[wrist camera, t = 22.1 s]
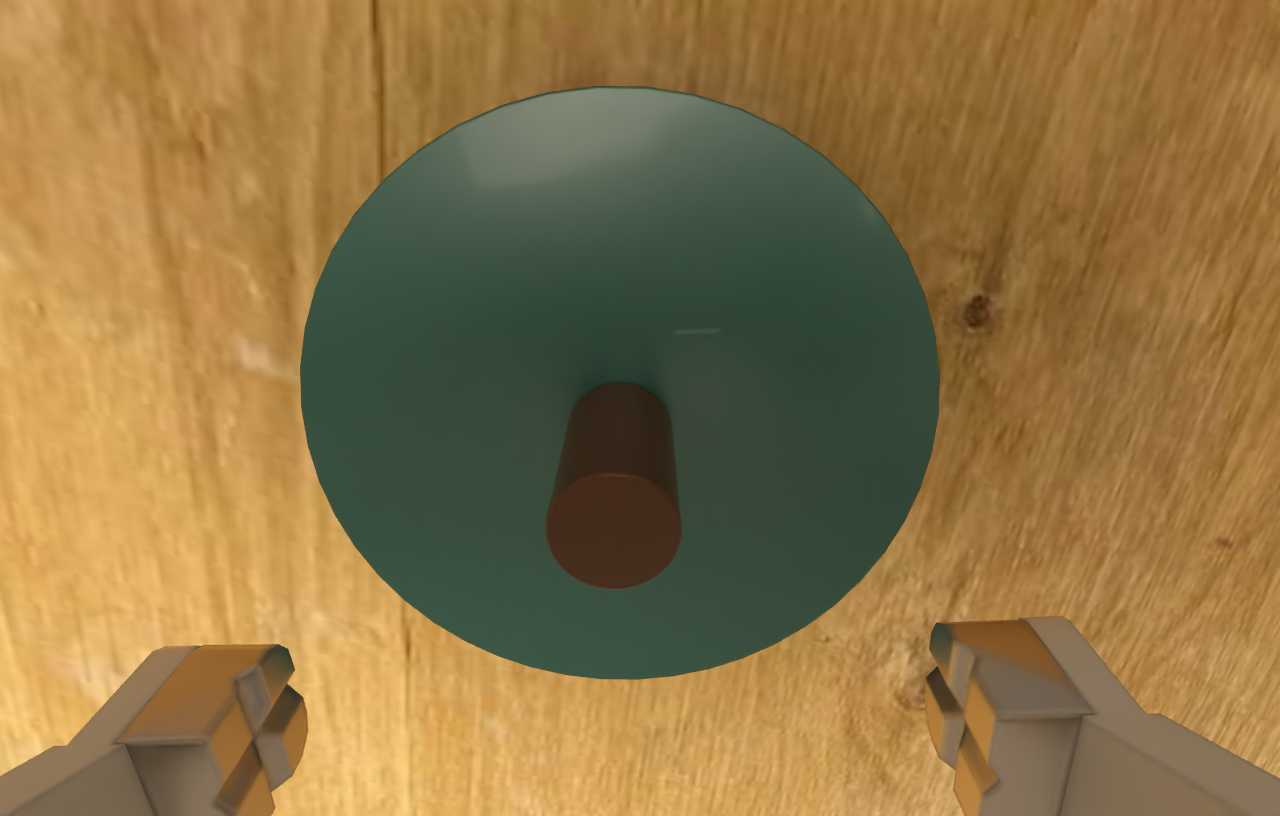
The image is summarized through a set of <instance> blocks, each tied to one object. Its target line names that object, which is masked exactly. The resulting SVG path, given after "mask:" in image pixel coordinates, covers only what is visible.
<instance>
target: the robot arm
mask: <svg viewBox="0 0 1280 816" xmlns="http://www.w3.org/2000/svg"><path fill="white" fill-rule="evenodd" d="M929 649H930V651H931V653H932V655H933V657H934V659H935V661H936V663H937V665H938V666H937V667H936V668H935V669H934V670H933V671H932V672H931V673H930V674H929V675H928V676H927V677H926V684H925V696H924V702H925V711H926V720H927V725H928V729H929V732H930V736H931V739H932V742H933V744H934V747H935V749H936V752H937V754H938V756H939V758H940V759H941V760H943V761H944V762H945V763H946V764H948V765H949V766H950V767H952V768H953V769H954V770H956V772H955V780H954V787H953V791H954V793H955V795H956V797H957V800H958V802H959V804H960V806H961V808H962V811H963V813H964V815H965V816H1280V779H1279V778H1277V777H1276V776H1274V775H1272V774H1270V773H1268V772H1266V771H1264V770H1263V769H1261V768H1259V767H1257V766H1255V765H1253V764H1252V763H1250V762H1248V761H1246V760H1244V759H1242V758H1241V757H1239V756H1237V755H1235V754H1233V753H1231V752H1230V751H1228V750H1226V749H1224V748H1222V747H1220V746H1219V745H1217V744H1215V743H1213V742H1211V741H1209V740H1208V739H1206V738H1204V737H1202V736H1200V735H1198V734H1197V733H1195V732H1193V731H1191V730H1189V729H1187V728H1186V727H1184V726H1182V725H1180V724H1178V723H1176V722H1175V721H1173V720H1171V719H1169V718H1167V717H1165V716H1164V715H1162V714H1146V713H1145V711H1144V710H1143V709H1142V708H1141V707H1140V705H1139V704H1138V703H1137V702H1136V700H1135V699H1134V698H1133V697H1132V696H1131V694H1130V693H1129V692H1128V691H1127V690H1126V688H1125V687H1124V686H1123V685H1122V683H1121V682H1120V681H1119V680H1118V679H1117V677H1116V676H1115V675H1114V674H1113V672H1112V671H1111V670H1110V669H1109V668H1108V666H1107V665H1106V664H1105V663H1104V661H1103V660H1102V659H1101V658H1100V657H1099V655H1098V654H1097V653H1096V652H1095V650H1094V649H1093V648H1092V647H1091V646H1090V644H1089V643H1088V642H1087V641H1086V639H1085V638H1084V637H1083V636H1082V635H1081V633H1080V632H1079V631H1078V630H1077V629H1076V627H1075V626H1074V625H1073V624H1072V622H1071V621H1069V620H1068V619H1066V618H1064V617H1062V616H1050V617H1032V618H1019V619H1018V620H991V621H966V622H940V623H936V624H935V626H934V628H933V631H932V633H931V641H930V648H929ZM294 671H295V668H294V665H293V662H292V659H291V656H290V653H289V650H288V649H287V648H285V647H283V646H281V645H279V644H263V645H203V646H165V647H163V648H160V649H158V650H155V651H153V652H152V653H151V654H150V655H149V656H148V657H147V658H146V659H145V660H144V661H143V663H142V664H141V665H140V666H139V667H138V668H137V669H136V670H135V671H134V672H133V674H132V675H131V676H130V677H129V678H128V679H127V680H126V681H125V682H124V683H123V685H122V686H121V687H120V688H119V689H118V690H117V691H116V692H115V693H114V694H113V695H112V697H111V698H110V699H109V700H108V701H107V702H106V703H105V704H104V705H103V706H102V708H101V709H100V710H99V711H98V712H97V713H96V714H95V715H94V716H93V717H92V718H91V720H90V721H89V722H88V723H87V724H86V725H85V726H84V727H83V728H82V729H81V731H80V732H79V733H78V734H77V735H76V736H75V737H74V738H73V739H72V740H71V741H70V743H69V744H68V745H67V746H53V747H51V748H50V749H48V750H46V751H44V752H42V753H41V754H39V755H37V756H35V757H34V758H32V759H30V760H28V761H27V762H25V763H23V764H21V765H19V766H18V767H16V768H14V769H12V770H11V771H9V772H7V773H5V774H3V775H2V776H0V816H271V815H272V813H273V811H274V810H275V804H274V800H273V797H272V793H271V792H272V791H274V790H275V789H276V788H277V787H279V786H280V785H281V784H283V783H284V782H285V781H286V780H288V779H289V778H290V777H292V776H293V774H294V772H295V770H296V768H297V766H298V764H299V762H300V760H301V758H302V755H303V751H304V747H305V742H306V738H307V733H308V722H307V710H306V707H305V703H304V699H303V697H302V696H301V695H300V694H298V693H297V692H296V691H295V690H294V689H293V688H291V687H290V686H289V685H288V684H287V683H288V681H289V679H290V678H291V676H292V674H293V672H294Z"/></svg>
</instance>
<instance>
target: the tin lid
mask: <svg viewBox="0 0 1280 816" xmlns="http://www.w3.org/2000/svg"><path fill="white" fill-rule="evenodd" d="M300 377H301V408H302V414H303V420H304V426H305V431H306V437H307V443H308V447H309V450H310V454H311V457H312V460H313V463H314V466H315V469H316V473H317V476H318V479H319V482H320V484H321V486H322V488H323V490H324V493H325V495H326V497H327V499H328V501H329V503H330V505H331V508H332V510H333V512H334V514H335V516H336V517H337V519H338V521H339V522H340V524H341V525H342V527H343V529H344V530H345V532H346V533H347V535H348V536H349V538H350V540H351V541H352V543H353V544H354V546H355V547H356V548H357V550H358V551H359V552H360V553H361V555H362V556H363V557H364V558H365V559H366V561H367V562H368V563H369V564H370V566H371V567H372V568H373V569H374V570H375V572H376V573H377V574H378V575H379V576H380V577H381V578H382V579H383V580H384V581H385V582H386V583H387V584H388V585H389V586H390V587H391V588H392V589H393V590H394V591H395V592H397V593H398V594H399V595H400V596H401V597H402V598H403V599H404V600H405V601H406V602H407V603H409V604H410V605H411V606H413V607H414V608H415V609H417V610H418V611H419V612H421V613H422V614H423V615H425V616H426V617H427V618H429V619H430V620H431V621H433V622H434V623H436V624H437V625H439V626H441V627H442V628H444V629H446V630H447V631H449V632H451V633H452V634H454V635H456V636H457V637H459V638H461V639H462V640H464V641H466V642H468V643H470V644H473V645H475V646H477V647H479V648H481V649H483V650H486V651H488V652H490V653H492V654H494V655H497V656H499V657H502V658H505V659H508V660H511V661H514V662H517V663H520V664H523V665H526V666H529V667H532V668H537V669H541V670H546V671H551V672H555V673H560V674H564V675H571V676H579V677H588V678H597V679H648V678H659V677H669V676H676V675H681V674H686V673H691V672H696V671H701V670H706V669H710V668H713V667H717V666H720V665H723V664H726V663H729V662H733V661H736V660H739V659H742V658H744V657H747V656H749V655H751V654H754V653H756V652H758V651H760V650H763V649H765V648H767V647H770V646H772V645H774V644H776V643H778V642H780V641H781V640H783V639H785V638H787V637H788V636H790V635H792V634H794V633H795V632H797V631H799V630H800V629H802V628H804V627H806V626H807V625H808V624H810V623H811V622H813V621H814V620H815V619H817V618H818V617H819V616H821V615H822V614H823V613H825V612H826V611H827V610H829V609H830V608H832V607H833V606H834V605H835V604H837V603H838V602H839V601H840V600H841V599H842V598H843V597H844V596H845V595H846V594H847V593H848V592H849V591H850V590H851V589H853V588H854V587H855V586H856V585H857V584H858V583H859V582H860V581H861V580H862V579H863V578H864V576H865V575H866V574H867V573H868V572H869V571H870V569H871V568H872V567H873V566H874V565H875V563H876V562H877V561H878V560H879V559H880V557H881V556H882V555H883V554H884V553H885V551H886V550H887V548H888V546H889V545H890V543H891V542H892V540H893V539H894V537H895V536H896V534H897V533H898V531H899V529H900V528H901V526H902V525H903V523H904V522H905V520H906V517H907V515H908V513H909V511H910V509H911V507H912V505H913V503H914V501H915V499H916V496H917V494H918V492H919V490H920V488H921V485H922V482H923V479H924V475H925V472H926V469H927V466H928V463H929V460H930V457H931V454H932V449H933V443H934V438H935V432H936V426H937V420H938V415H939V386H940V372H939V363H938V354H937V345H936V336H935V332H934V328H933V324H932V320H931V316H930V313H929V309H928V305H927V301H926V297H925V294H924V292H923V289H922V287H921V285H920V282H919V280H918V278H917V275H916V273H915V271H914V268H913V266H912V264H911V261H910V259H909V257H908V255H907V253H906V252H905V250H904V248H903V247H902V245H901V244H900V242H899V240H898V239H897V237H896V235H895V234H894V232H893V231H892V229H891V227H890V226H889V224H888V222H887V221H886V219H885V218H884V217H883V216H882V214H881V213H880V212H879V211H878V210H877V208H876V207H875V206H874V205H873V204H872V202H871V201H870V200H869V199H868V198H867V196H866V195H865V194H864V193H863V192H862V190H861V189H860V188H859V187H858V186H857V185H856V184H855V183H854V182H853V181H852V180H851V179H850V178H848V177H847V176H846V175H845V174H844V173H843V172H842V171H841V170H839V169H838V168H837V167H836V166H835V165H834V164H833V163H832V162H831V161H829V160H828V159H827V158H826V157H825V156H824V155H823V154H821V153H820V152H818V151H817V150H815V149H814V148H812V147H811V146H809V145H807V144H806V143H804V142H803V141H801V140H800V139H798V138H797V137H795V136H794V135H792V134H791V133H789V132H788V131H786V130H785V129H783V128H781V127H779V126H777V125H775V124H772V123H770V122H768V121H766V120H764V119H762V118H760V117H758V116H755V115H753V114H751V113H749V112H747V111H745V110H743V109H741V108H738V107H734V106H731V105H728V104H724V103H721V102H718V101H715V100H711V99H708V98H705V97H702V96H698V95H695V94H690V93H683V92H677V91H671V90H664V89H658V88H651V87H640V86H592V87H585V88H577V89H569V90H562V91H554V92H547V93H544V94H540V95H536V96H533V97H529V98H526V99H522V100H519V101H515V102H512V103H508V104H504V105H501V106H499V107H497V108H494V109H492V110H490V111H488V112H485V113H483V114H481V115H479V116H476V117H474V118H472V119H470V120H467V121H465V122H463V123H461V124H458V125H457V126H455V127H453V128H452V129H450V130H449V131H447V132H446V133H444V134H442V135H441V136H439V137H438V138H436V139H435V140H433V141H431V142H430V143H428V144H427V145H425V146H423V147H422V148H420V149H419V150H417V151H416V152H415V153H414V154H413V155H412V156H411V157H409V158H408V159H407V160H406V161H405V162H404V163H402V164H401V165H400V166H399V167H398V168H397V169H395V170H394V171H393V172H392V173H391V174H390V175H389V176H387V177H386V178H385V179H384V180H383V181H382V182H381V183H380V185H379V186H378V187H377V188H376V189H375V190H374V192H373V193H372V194H371V195H370V196H369V197H368V199H367V200H366V201H365V202H364V203H363V204H362V206H361V207H360V208H359V209H358V210H357V211H356V213H355V214H354V216H353V217H352V219H351V220H350V222H349V224H348V225H347V227H346V228H345V230H344V232H343V233H342V235H341V236H340V238H339V240H338V241H337V243H336V244H335V246H334V248H333V249H332V251H331V254H330V256H329V258H328V260H327V263H326V265H325V267H324V270H323V272H322V274H321V277H320V279H319V281H318V283H317V286H316V288H315V292H314V295H313V299H312V303H311V307H310V310H309V314H308V318H307V322H306V325H305V331H304V339H303V348H302V357H301V365H300Z"/></svg>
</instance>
